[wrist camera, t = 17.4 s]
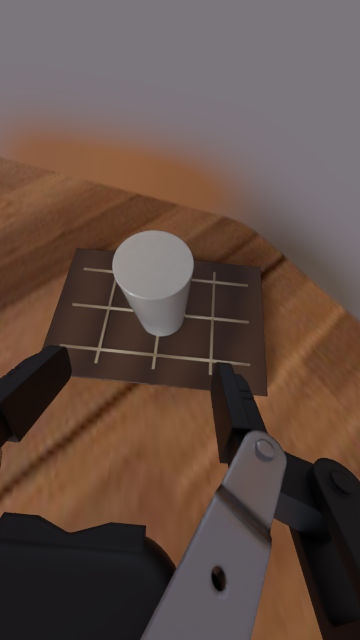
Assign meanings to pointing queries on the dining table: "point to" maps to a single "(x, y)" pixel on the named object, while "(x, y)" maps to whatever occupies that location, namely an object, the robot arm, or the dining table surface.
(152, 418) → the dining table surface
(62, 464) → the dining table surface
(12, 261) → the dining table surface
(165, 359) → the board
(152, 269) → the white upright cylinder
